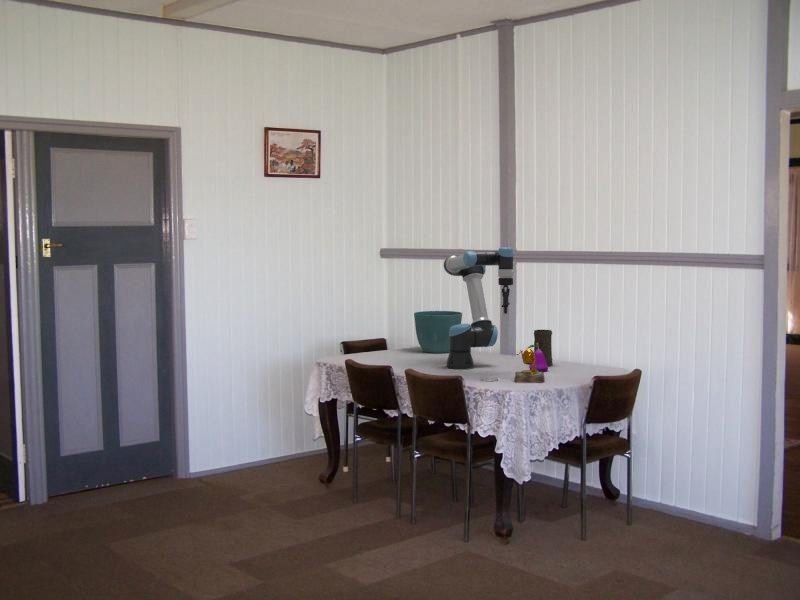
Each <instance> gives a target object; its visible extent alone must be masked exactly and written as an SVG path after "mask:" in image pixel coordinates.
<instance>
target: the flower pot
mask: <svg viewBox="0 0 800 600" xmlns="http://www.w3.org/2000/svg"><path fill="white" fill-rule="evenodd" d="M413 316H414V317H413V318H414V325H415V334H416V338H417V342H418V345H419V346H420V348H421V349H422V351H423V352H424V353H431V354H445V353H449V332H450V327H451V326H454V325H458V324H462V321H463V312H461V311H453V310H423V311H416V312H413Z"/></svg>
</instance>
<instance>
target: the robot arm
mask: <svg viewBox="0 0 800 600" xmlns="http://www.w3.org/2000/svg"><path fill="white" fill-rule="evenodd" d="M486 266H487V267H488V266H498V271H497V272H498V275H497V276H498V285H499V286H503V287H502V288H501V294H502V295H501V296H502V305H501V308H502V320H503V321H509V310H510V309H509V308H510V307H509V306H510V304H511V303H510V302H509V297H510V291H511V290H510V288H509V286H514V278H513V277H514V273H515V270H514V249H513V247H498V250H485V251H483V250H482V251H481V250H480V251H477V250H475V251H474V250H470V251H465V252H464V254H461V255H460V254H459V255H451V256H450V255H449V256H448V257H446V258H445V260H444V261H443V269H444V271H445V272H446V273H447V274H448V275H450V276H453V277H462V280H463V282H465V283H466V289H467V294H468V295H467V296H468V301H469V306H470V312H471V317H472V323H461V324H458V325H454V326H451V327H450V332H449V352H448V356H447V360H446V364H445V365H446V366H445V367H446V368H448V369H453V370H455V369H456V370H468V369H473V368H474V367H475V363H474V362H475V361H474V359H473V355H472V348H488V347H493V346H495V344H496V343H497V339H498V334H499V333H498V327H497V326H496V325H494V324H493V322H492V320H491V319H490V318H489V316H488V309H487V304H486V297H485V293H484V288H483V282H482V280H483V278H484V275H486V270H487V268H486Z"/></svg>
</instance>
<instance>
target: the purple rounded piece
mask: <svg viewBox="0 0 800 600" xmlns="http://www.w3.org/2000/svg"><path fill="white" fill-rule="evenodd" d="M536 345H537V346H535V345H534V344H531V345H529V346H528V347H526V349H525V350H527V349H532V348H534V347H537V348H538V349H537V350H536V351H535V352H534V351H533V352H534V354H535V359H536V361H535V362H534V363H535V365H536V366H535V368H536V370H538V371H539V372H547V371H548V369H549V367H548V366H547V363H546V361H545V358H544V355H543V353H542V351H541V350H540V349H539V346H538V343H536ZM528 366H529V367H528V370H531V369H532V368H533V365H528Z"/></svg>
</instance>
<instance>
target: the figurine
mask: <svg viewBox="0 0 800 600" xmlns="http://www.w3.org/2000/svg"><path fill="white" fill-rule="evenodd" d="M520 354H521V359H522V363H523V364H524V365H526V366H529V365H533V368H532V369H531V370H530V369H527V370H525V369H524V370H520V372H521V373H523V374H537V373H538V372H539V371H538V370H536V368H535V366H536V365H535V363H534V362H535V361H536V359H535V354H534V349H532V348H527V349H525V350H524V351H523V350H521V349H520V350H519V352H518V353H516V356H520Z"/></svg>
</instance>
